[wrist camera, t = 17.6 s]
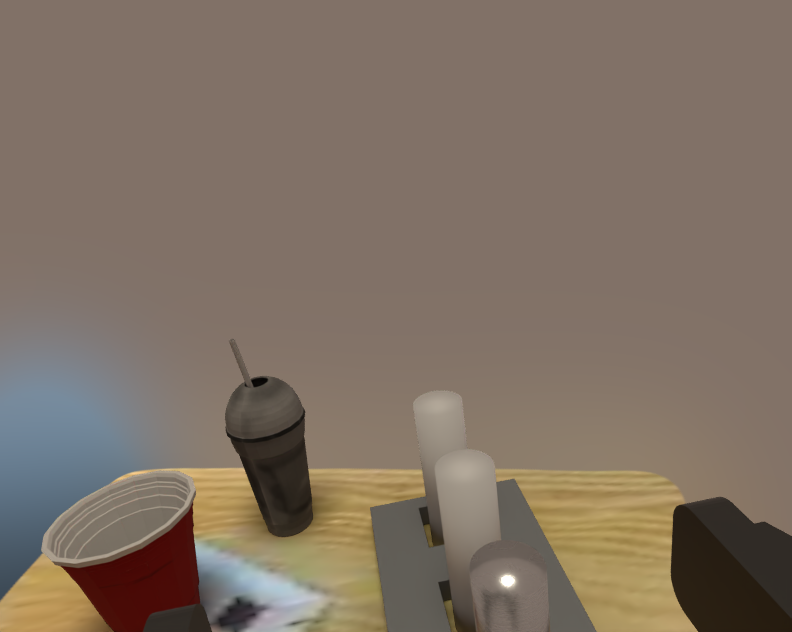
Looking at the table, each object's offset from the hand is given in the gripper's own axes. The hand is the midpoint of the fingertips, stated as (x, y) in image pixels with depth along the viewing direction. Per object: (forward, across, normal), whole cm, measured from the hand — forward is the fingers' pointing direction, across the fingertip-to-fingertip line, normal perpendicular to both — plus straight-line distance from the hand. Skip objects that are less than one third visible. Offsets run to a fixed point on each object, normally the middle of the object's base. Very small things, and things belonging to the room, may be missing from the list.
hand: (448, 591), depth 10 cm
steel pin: (+16, -5, +30) cm, 34 cm away
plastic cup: (+31, +20, +30) cm, 48 cm away
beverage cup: (+41, +10, +30) cm, 52 cm away
